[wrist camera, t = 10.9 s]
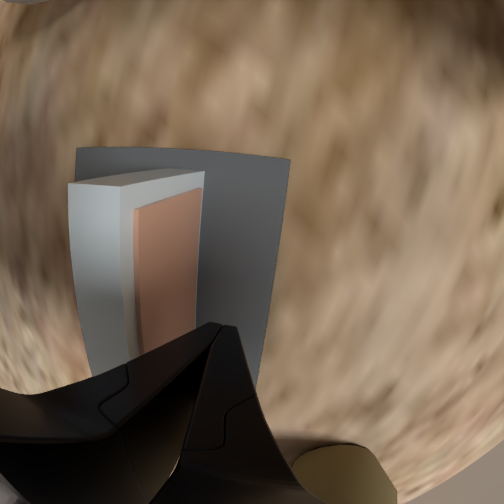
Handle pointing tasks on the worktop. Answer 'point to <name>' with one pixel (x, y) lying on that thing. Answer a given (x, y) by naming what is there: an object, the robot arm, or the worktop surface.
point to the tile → (135, 260)
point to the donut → (26, 1)
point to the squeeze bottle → (344, 476)
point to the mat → (221, 229)
